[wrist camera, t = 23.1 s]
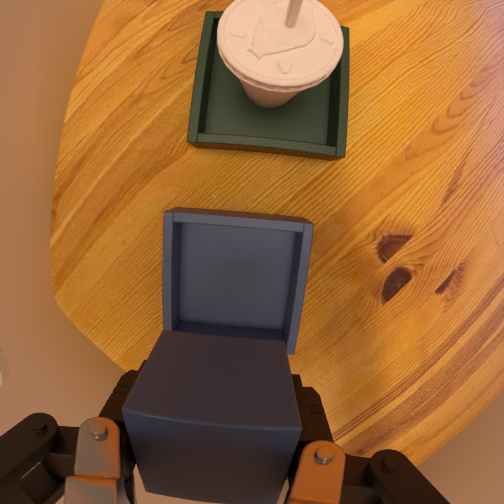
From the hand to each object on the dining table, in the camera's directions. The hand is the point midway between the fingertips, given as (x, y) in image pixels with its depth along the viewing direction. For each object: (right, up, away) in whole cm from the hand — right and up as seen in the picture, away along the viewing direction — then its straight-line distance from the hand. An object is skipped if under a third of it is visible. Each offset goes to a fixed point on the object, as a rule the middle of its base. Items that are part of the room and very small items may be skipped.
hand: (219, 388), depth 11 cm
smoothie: (+3, +18, +10) cm, 21 cm away
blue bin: (0, +3, +14) cm, 15 cm away
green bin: (+3, +18, +11) cm, 21 cm away
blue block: (0, 0, 0) cm, 0 cm away
